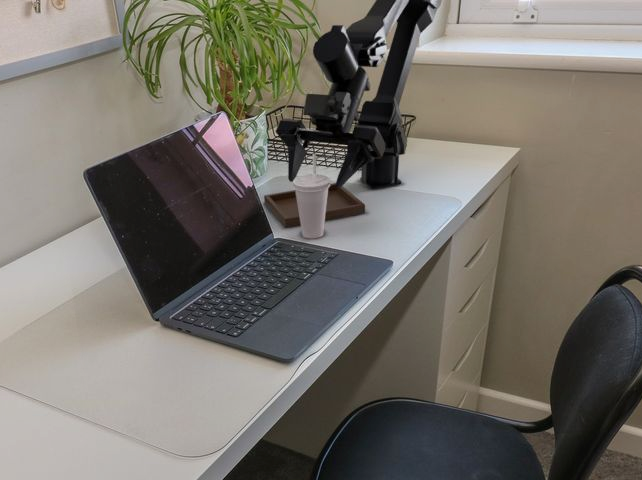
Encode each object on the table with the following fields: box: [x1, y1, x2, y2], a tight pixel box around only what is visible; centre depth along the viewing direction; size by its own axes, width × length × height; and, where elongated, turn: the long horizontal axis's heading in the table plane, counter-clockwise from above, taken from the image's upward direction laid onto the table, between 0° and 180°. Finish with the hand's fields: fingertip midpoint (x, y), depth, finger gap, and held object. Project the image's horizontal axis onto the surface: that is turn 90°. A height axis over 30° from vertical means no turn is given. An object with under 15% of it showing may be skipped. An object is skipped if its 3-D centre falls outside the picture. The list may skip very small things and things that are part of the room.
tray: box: [263, 182, 366, 229], centre depth 132 cm, size 16×14×2 cm
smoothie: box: [292, 153, 331, 239], centre depth 118 cm, size 6×6×14 cm
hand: (313, 183), depth 118 cm, fingers open, 9 cm apart
